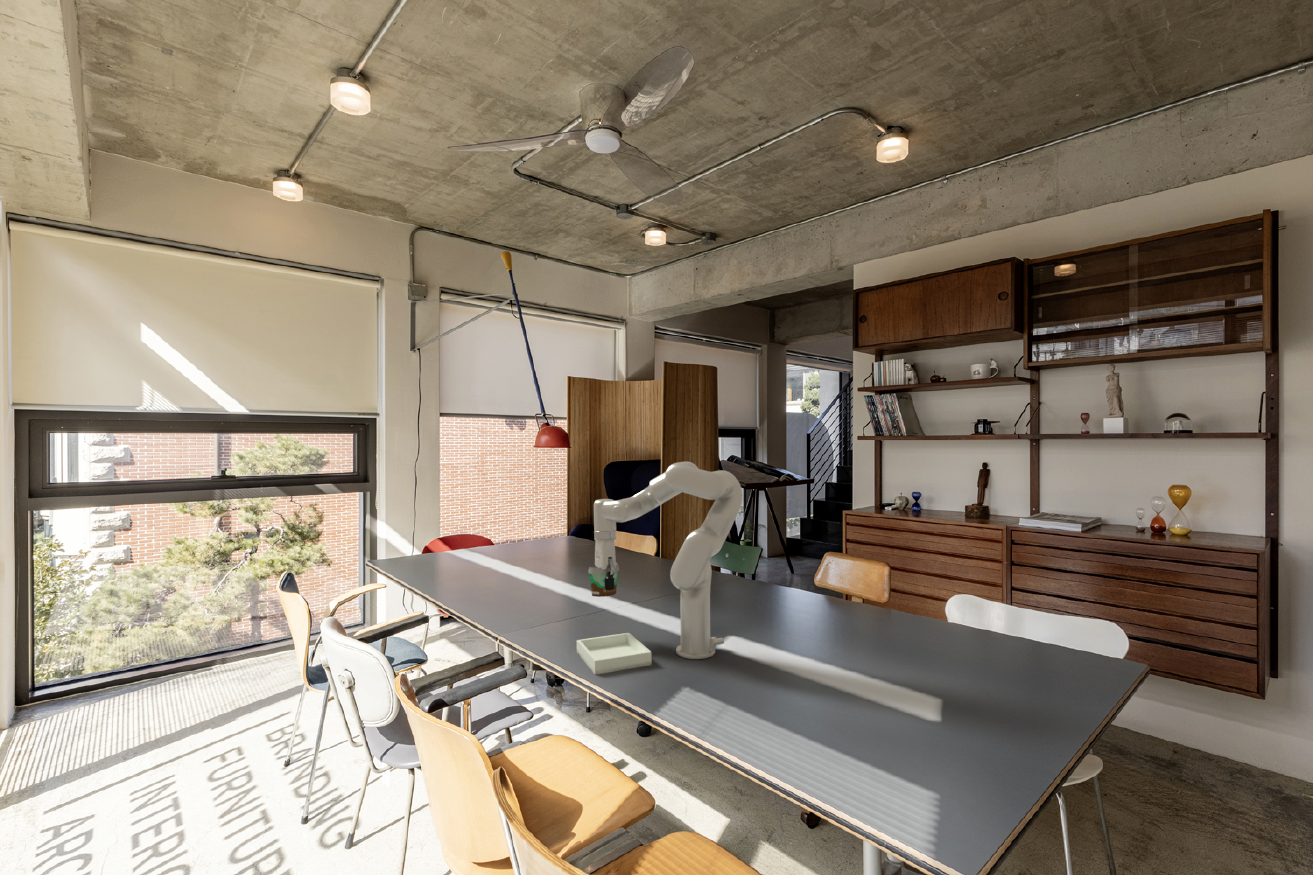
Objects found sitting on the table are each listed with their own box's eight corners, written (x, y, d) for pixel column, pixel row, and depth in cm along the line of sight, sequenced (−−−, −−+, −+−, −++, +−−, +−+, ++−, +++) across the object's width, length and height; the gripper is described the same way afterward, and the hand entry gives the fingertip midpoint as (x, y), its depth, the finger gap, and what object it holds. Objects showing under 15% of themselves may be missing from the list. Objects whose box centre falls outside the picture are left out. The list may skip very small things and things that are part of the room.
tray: (628, 644, 203) (628, 632, 203) (651, 664, 184) (651, 651, 184) (576, 652, 196) (576, 640, 196) (594, 674, 177) (594, 660, 177)
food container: (600, 599, 200) (600, 569, 201) (588, 596, 205) (587, 567, 205) (627, 592, 210) (626, 563, 210) (615, 589, 214) (614, 561, 214)
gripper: (588, 532, 214) (589, 583, 214) (602, 539, 198) (603, 594, 198) (608, 531, 217) (609, 581, 217) (623, 537, 201) (625, 591, 201)
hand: (606, 586), depth 208 cm, fingers closed on food container, 6 cm apart
